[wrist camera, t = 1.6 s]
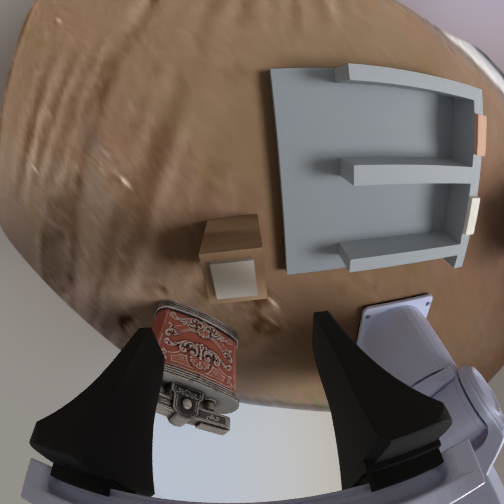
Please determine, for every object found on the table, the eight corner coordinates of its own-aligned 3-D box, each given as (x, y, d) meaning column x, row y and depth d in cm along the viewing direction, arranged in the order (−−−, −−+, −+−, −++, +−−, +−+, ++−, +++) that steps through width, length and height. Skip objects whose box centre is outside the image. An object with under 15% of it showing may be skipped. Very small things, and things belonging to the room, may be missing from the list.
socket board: (442, 248, 22) (464, 269, 18) (285, 269, 22) (293, 298, 19) (454, 87, 15) (485, 89, 11) (269, 70, 15) (276, 61, 12)
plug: (261, 257, 21) (267, 301, 17) (215, 262, 21) (209, 307, 17) (257, 213, 20) (262, 249, 15) (207, 219, 20) (198, 257, 15)
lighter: (150, 316, 24) (121, 410, 15) (165, 292, 23) (135, 392, 14) (226, 352, 26) (224, 444, 18) (245, 332, 25) (249, 430, 16)
